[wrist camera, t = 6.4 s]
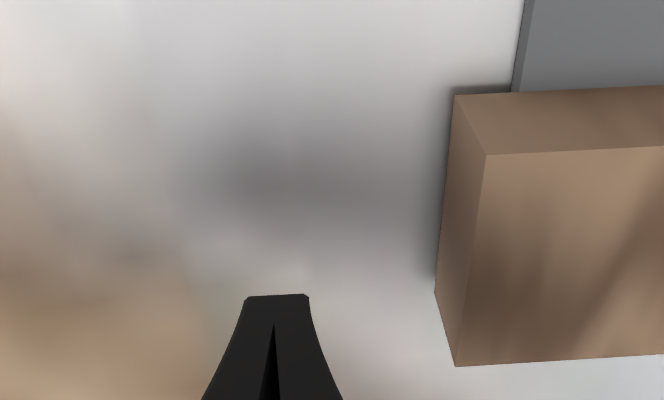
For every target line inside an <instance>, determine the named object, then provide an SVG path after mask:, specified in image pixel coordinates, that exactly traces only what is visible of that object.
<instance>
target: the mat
mask: <svg viewBox="0 0 664 400" xmlns="http://www.w3.org/2000/svg"><path fill="white" fill-rule="evenodd" d="M649 85H664V0H525V5H524V12H523V18H522V24H521V30H520V36H519V42H518V48H517V54H516V60H515V67H514V73H513V79H512V85H511V91H510V92H527V91H548V90H568V89H588V88H609V87H629V86H649Z"/></svg>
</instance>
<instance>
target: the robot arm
mask: <svg viewBox="0 0 664 400" xmlns="http://www.w3.org/2000/svg"><path fill="white" fill-rule="evenodd" d="M201 400H343V399H342V397H341V394H340V392H339V390H338V388H337V386H336V384H335V381H334V379H333V377H332V375H331V372H330V370H329V367H328V365H327V362H326V360H325V357H324V355H323V352H322V350H321V347H320V344H319V341H318V338H317V335H316V331H315V328H314V324H313V321H312V316H311V312H310V306H309V297H308V296H306V295H305V294H287V295H268V296H250V297H248V298H247V299H246V300H244V303H243V307H242V310H241V313H240V316H239V319H238V322H237V325H236V327H235V330H234V333H233V335H232V337H231V340H230V342H229V344H228V347H227V349H226V351H225V353H224V355H223V357H222V360H221V362H220V364H219V366H218V368H217V370H216V372H215V374H214V376H213V378H212V380H211V382H210V384H209V386H208V388H207V389H206V391H205V393H204V395H203V397H202V399H201Z"/></svg>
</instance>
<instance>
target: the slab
mask: <svg viewBox="0 0 664 400" xmlns="http://www.w3.org/2000/svg"><path fill="white" fill-rule="evenodd" d="M434 293H435V297H436V301H437V304H438V308H439V311H440V315H441V318H442V322H443V326H444V329H445V333H446V336H447V340H448V343H449V347H450V351H451V354H452V358H453V361H454V365H455V367H464V366H480V365H496V364H512V363H528V362H544V361H560V360H576V359H592V358H608V357H624V356H640V355H656V354H664V85H649V86H629V87H609V88H588V89H568V90H548V91H527V92H507V93H487V94H467V95H454V105H453V115H452V124H451V134H450V144H449V154H448V163H447V173H446V183H445V192H444V202H443V212H442V221H441V231H440V241H439V251H438V260H437V270H436V280H435V289H434Z"/></svg>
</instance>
